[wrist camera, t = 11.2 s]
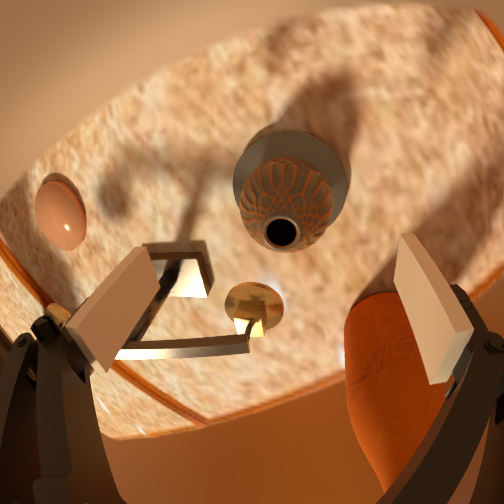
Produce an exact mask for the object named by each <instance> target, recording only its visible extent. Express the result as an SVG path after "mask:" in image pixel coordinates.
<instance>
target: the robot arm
mask: <svg viewBox="0 0 504 504" xmlns="http://www.w3.org/2000/svg"><path fill="white" fill-rule="evenodd" d="M394 284H395V286H396V288H397V291H398V293H399V296H400V298H401V301H402V303H403V306H404V308H405V311H406V314H407V316H408V319H409V322H410V324H411V327H412V330H413V333H414V336H415V339H416V342H417V345H418V348H419V351H420V354H421V357H422V360H423V363H424V367H425V370H426V373H427V377H428V380H429V384H430V385H432V384H437V383H442V382H446V381H447V380H448V379H449V377H450V375H451V373H452V372H453V374H454V377H455V381H454V383H453V384H452V386H451V388H450V389H449V391H448V392H447V394H446V395H445V396H447V397H446V399H445V401H444V403H443V405H442V407H441V409H440V411H439V413H438V415H437V416H436V418H435V420H434V422H433V424H432V425H431V427H430V429H429V431H428V432H427V434H426V436H425V437H424V439H423V441H422V442H421V444H420V445H419V447H418V449H417V450H416V452H415V453H414V455H413V456H412V458H411V459H410V461H409V462H408V463H407V465H406V466H405V468H404V469H403V470H402V472H401V473H400V474H399V476H398V477H397V478H396V480H395V481H394V482H393V484H392V485H391V486H390V487H389V489H388V490H387V491H386V492H385V494H384V495H383V496H382V497H381V498H380V500H379V501H378V502H377V503H376V504H447V503H448V501H449V500H450V498H451V496H452V495H453V493H454V491H455V490H456V488H457V486H458V485H459V483H460V481H461V479H462V477H463V475H464V473H465V472H466V470H467V468H468V466H469V464H470V461H471V459H472V458H473V456H474V453H475V451H476V449H477V447H478V444H479V442H480V440H481V437H482V435H483V433H484V430H485V427H486V425H487V422H488V419H489V417H490V420H489V427H488V433H487V440H486V445H485V450H484V455H483V459H482V463H481V467H480V471H479V475H478V478H477V482H476V485H475V488H474V492H473V494H472V498H471V500H470V503H469V504H504V339H503V338H502V337H501V336H500V335H498V334H497V333H494V332H489V331H488V329H487V327H486V325H485V324H484V322H483V320H482V318H481V317H480V315H479V313H478V312H477V310H476V308H474V305H473V303H472V302H471V301H470V298H469V297H468V295H467V294H466V292H465V291H464V290H463V289H462V288H461V287H459V286H458V285H457V284H454V285H449V284H448V283H447V281H446V279H445V278H444V276H443V275H442V273H441V272H440V270H439V269H438V267H437V266H436V264H435V263H434V261H433V260H432V258H431V257H430V255H429V254H428V252H427V251H426V250H425V248H424V247H423V245H422V244H421V243H420V241H419V240H418V238H417V237H416V236H415V234H414V233H408V234H400V237H399V246H398V254H397V261H396V268H395V274H394ZM159 289H160V285H159V282H158V279H157V277H156V274H155V271H154V268H153V265H152V262H151V259H150V256H149V253H148V250H147V247H146V246H145V247H135V248H134V249H133V250H132V251H131V252H130V253H129V254H128V255H127V256H126V257H125V258H124V259H123V260H122V261H121V263H120V264H119V265H118V266H117V267H116V268H115V269H114V270H113V271H112V272H111V273H110V274H109V275H108V277H107V278H106V279H105V280H104V281H103V282H102V283H101V284H100V285H99V287H98V288H97V289H96V290H95V291H94V292H93V293H92V295H91V296H89V297H88V298H87V299H86V300H85V301H84V302H83V303H82V304H81V307H79V308H78V309H77V310H76V312H75V313H74V314H73V315H72V316H71V318H70V319H69V320H68V321H67V322H66V324H65V325H64V326H63V327H62V329H61V330H60V328H59V327H58V325H57V323H56V322H55V320H54V318H53V317H52V316H51V315H48V314H46V315H43V316H41V317H39V318H38V319H37V320H36V321H34V323H33V324H32V326H31V328H30V329H31V330H32V332H33V333H34V335H35V336H36V338H37V339H36V340H35V339H34V338H33V336H32V335H31V334H30V333H23V334H21V335H19V336H18V338H17V339H16V340H15V342H13V341H12V340H11V338H10V337H9V336H8V335H7V333H6V332H5V331H4V329H3V328H2V326H1V325H0V504H127V503H126V502H125V501H124V500H123V499H122V498H121V496H120V495H119V493H118V490H117V488H116V485H115V482H114V479H113V476H112V473H111V470H110V466H109V463H108V460H107V457H106V453H105V450H104V446H103V442H102V438H101V434H100V430H99V426H98V421H97V417H96V412H95V407H94V401H93V396H92V390H91V384H90V377H89V376H90V375H91V374H92V373H93V372H94V370H96V371H100V372H104V373H107V371H108V370H109V368H110V366H111V365H112V363H113V361H114V360H115V358H116V356H117V355H118V353H119V351H120V350H121V348H122V346H123V345H124V343H125V342H126V340H127V338H128V337H129V335H130V334H131V332H132V330H133V329H134V327H135V326H136V324H137V322H138V321H139V319H140V318H141V316H142V315H143V313H144V312H145V310H146V308H147V307H148V305H149V304H150V302H151V301H152V299H153V298H154V296H155V295H156V293H157V292H158V290H159Z"/></svg>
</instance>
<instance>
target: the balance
mask: <svg viewBox="0 0 504 504" xmlns="http://www.w3.org/2000/svg"><path fill="white" fill-rule="evenodd" d="M149 256H150V259H151V262H152V265H153V268H154V271H155V274H156V277H157V279H158V282H159V285H160V289H159V290H158V292H157V293H156V295H155V296H154V298H153V299H152V301H151V302H150V304H149V305H148V307H147V308H146V310H145V312H144V313H143V315H142V316H141V318H140V319H139V321H138V322H137V324H136V326H135V327H134V329H133V330H132V332H131V334H130V335H129V337H128V338H127V340H126V342H125V343H124V345H123V346H122V348H121V350H120V351H119V353H118V355H117V356H116V358H115V359H171V358H193V357H208V356H221V355H233V354H243V353H250V349H249V339H250V337H264V334H265V330H267V329H270V328H273V327H274V326H276V325H277V324H278V323H279V322H280V321H281V319H282V317H283V311H284V304H283V300H282V298H281V297H280V295H279V294H278V293H277V292H276V291H275V290H274V289H272V288H271V287H269V286H267V285H264V284H261V283H256V282H246V283H242V284H239V285H237V286H235V287H233V288H232V289H231V290H230V291H229V293H228V295H227V298H226V300H225V310H226V313H227V315H228V316H229V318H230V319H231V320H232V321H233V322H234V323H235V325H236V329H237V333H238V334H237V335H227V336H216V337H205V338H192V339H177V340H159V341H141V339H142V337H143V336H144V334H145V332H146V331H147V329H148V327H149V326H150V324H151V323H152V321H153V319H154V318H155V316H156V314H157V313H158V311H159V310H160V308H161V306H162V305H163V303H164V302H165V300H166V298H167V297H168V296H180V297H207V296H208V294H209V292H210V290H211V288H210V284H209V281H208V277H207V273H206V269H205V265H204V262H203V258H202V254H201V252H182V253H154V254H149ZM46 314H48V315H51V316H52V317H53V318H54V320H55V322H56V323H57V325H58V327H59V328H60V330H61V329H62V327H63V326H64V325H65V324H66V322H67V321H68V320H69V319H70V318H71V316H72V315H71V314H70V313H69V312H68V311H67V310H66V309H65V308H63V307H62V306H60V305H59V304H56V303H50V304H49V305H48V307H47V308H46Z"/></svg>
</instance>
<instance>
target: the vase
mask: <svg viewBox="0 0 504 504" xmlns="http://www.w3.org/2000/svg"><path fill="white" fill-rule="evenodd" d="M332 211H333V198H332V192H331V189H330V186H329V184H328V182H327V180H326V178H325V177H324V175H323V174H322V173H321V171H320V170H319V169H318V168H316V167H315V166H314V165H313V164H311V163H310V162H308V161H306V160H303V159H301V158H297V157H291V156H281V157H276V158H272V159H269V160H267V161H265V162H264V163H262V164H260V165H259V166H258V167H257V168H255V169H254V170H253V172H252V173H251V174H250V175H249V176H248V178H247V180H246V181H245V183H244V185H243V188H242V191H241V196H240V213H241V218H242V221H243V224H244V226H245V228H246V230H247V231H248V233H249V234H250V235H251V237H252V238H253V239H254V240H255V241H256V242H258V243H259V244H260V245H262V246H263V247H265V248H267V249H270V250H273V251H276V252H284V253H289V252H296V251H300V250H303V249H305V248H307V247H309V246H311V245H312V244H314V243H315V242H316V241H317V240H318V239H319V238H320V237H321V236H322V235H323V233H324V232H325V230H326V229H327V227H328V225H329V222H330V220H331V216H332Z"/></svg>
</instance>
